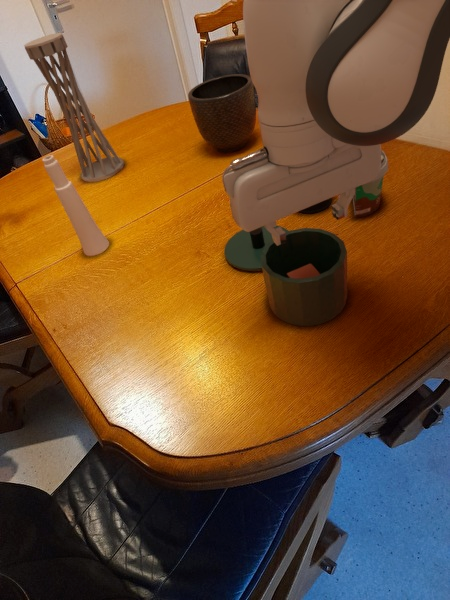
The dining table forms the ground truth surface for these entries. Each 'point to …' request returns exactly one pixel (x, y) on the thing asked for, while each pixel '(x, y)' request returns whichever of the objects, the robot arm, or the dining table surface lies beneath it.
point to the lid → (248, 248)
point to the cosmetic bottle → (76, 210)
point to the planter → (225, 111)
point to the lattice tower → (101, 166)
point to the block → (303, 272)
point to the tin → (308, 291)
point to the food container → (370, 192)
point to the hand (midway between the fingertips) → (310, 229)
